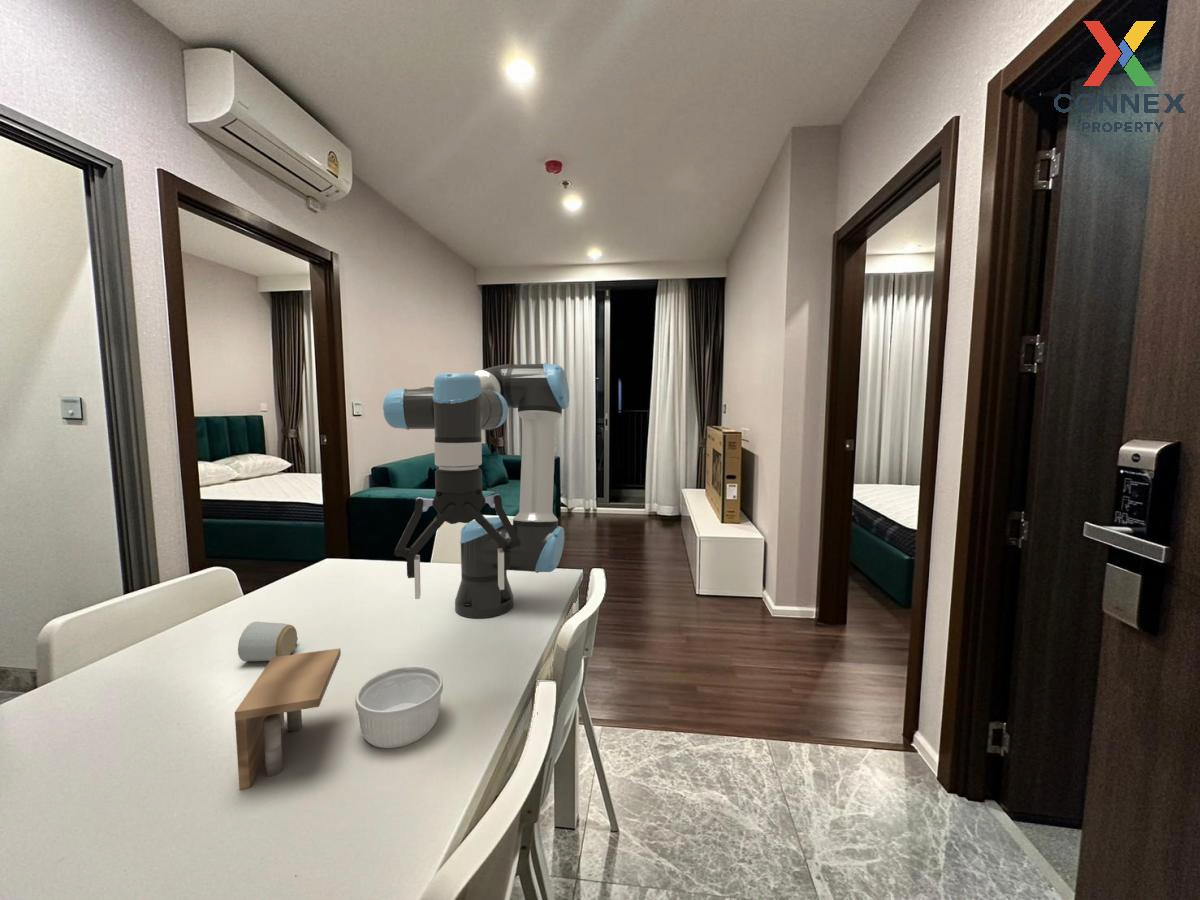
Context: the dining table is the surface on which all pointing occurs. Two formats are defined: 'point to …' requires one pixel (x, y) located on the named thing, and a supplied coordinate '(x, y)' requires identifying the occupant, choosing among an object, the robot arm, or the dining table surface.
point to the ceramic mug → (266, 641)
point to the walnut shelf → (278, 708)
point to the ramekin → (399, 705)
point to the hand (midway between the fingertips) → (460, 591)
